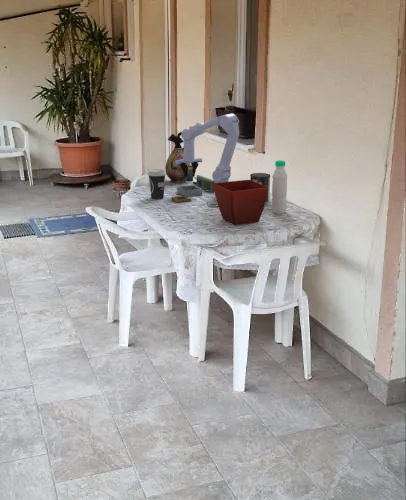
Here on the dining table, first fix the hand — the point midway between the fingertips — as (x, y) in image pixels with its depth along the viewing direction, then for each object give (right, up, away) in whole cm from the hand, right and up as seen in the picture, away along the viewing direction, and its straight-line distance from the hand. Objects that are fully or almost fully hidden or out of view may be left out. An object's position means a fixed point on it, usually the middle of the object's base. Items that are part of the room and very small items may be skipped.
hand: (189, 176), depth 340 cm
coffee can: (+37, -15, -15) cm, 42 cm away
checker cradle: (-4, -14, -13) cm, 20 cm away
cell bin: (0, -9, +3) cm, 10 cm away
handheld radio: (+8, -5, +18) cm, 20 cm away
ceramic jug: (-6, +1, +36) cm, 36 cm away
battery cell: (0, -2, +1) cm, 2 cm away
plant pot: (+24, -27, -51) cm, 63 cm away
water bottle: (+44, -22, -36) cm, 61 cm away
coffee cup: (-17, -13, -7) cm, 22 cm away
